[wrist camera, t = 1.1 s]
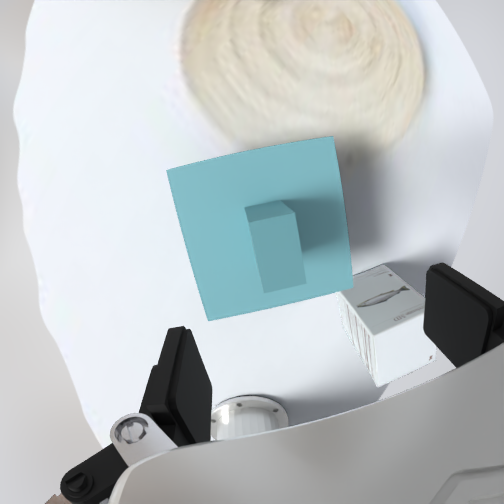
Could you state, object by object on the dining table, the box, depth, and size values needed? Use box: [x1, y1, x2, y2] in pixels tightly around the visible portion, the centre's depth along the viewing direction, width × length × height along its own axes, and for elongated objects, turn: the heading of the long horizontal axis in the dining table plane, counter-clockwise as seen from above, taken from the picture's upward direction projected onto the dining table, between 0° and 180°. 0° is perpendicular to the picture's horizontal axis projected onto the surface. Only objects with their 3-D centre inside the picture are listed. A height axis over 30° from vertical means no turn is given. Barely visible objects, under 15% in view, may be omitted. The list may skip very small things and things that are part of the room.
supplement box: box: [336, 264, 437, 387], centre depth 31 cm, size 7×7×13 cm
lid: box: [166, 136, 353, 321], centre depth 24 cm, size 14×14×8 cm
